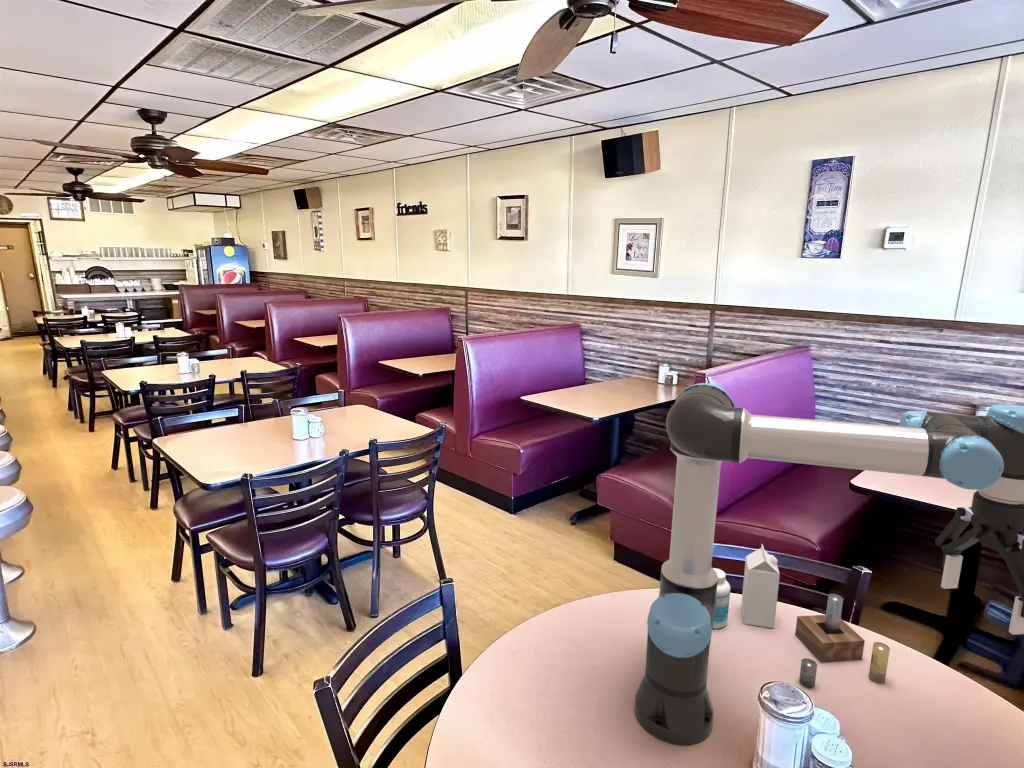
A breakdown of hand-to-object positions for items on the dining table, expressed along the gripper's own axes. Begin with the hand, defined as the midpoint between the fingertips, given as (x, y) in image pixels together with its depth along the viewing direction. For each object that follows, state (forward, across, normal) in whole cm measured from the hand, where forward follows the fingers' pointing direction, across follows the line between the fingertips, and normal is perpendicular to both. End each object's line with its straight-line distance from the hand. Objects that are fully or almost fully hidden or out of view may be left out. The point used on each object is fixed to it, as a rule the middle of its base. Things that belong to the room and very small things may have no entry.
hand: (981, 608), depth 100 cm
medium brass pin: (+29, +18, +2) cm, 34 cm away
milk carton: (+29, +41, +17) cm, 53 cm away
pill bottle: (+29, +41, +29) cm, 58 cm away
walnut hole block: (+29, +29, +6) cm, 41 cm away
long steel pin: (+29, +29, +6) cm, 41 cm away
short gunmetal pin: (+29, +18, +18) cm, 38 cm away
